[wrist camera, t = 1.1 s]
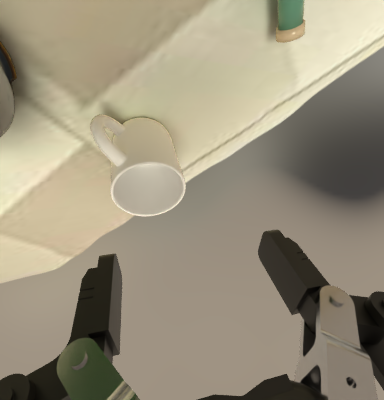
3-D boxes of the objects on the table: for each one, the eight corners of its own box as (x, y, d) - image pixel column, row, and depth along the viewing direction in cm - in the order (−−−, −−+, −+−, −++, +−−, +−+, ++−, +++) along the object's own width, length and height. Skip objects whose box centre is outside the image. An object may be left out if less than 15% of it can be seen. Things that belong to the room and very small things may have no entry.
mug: (73, 121, 27) (58, 173, 20) (121, 76, 25) (122, 118, 18) (141, 174, 36) (147, 225, 29) (182, 144, 33) (199, 191, 26)
